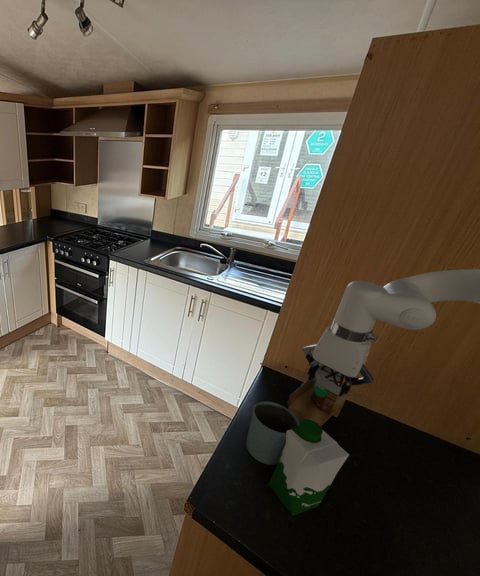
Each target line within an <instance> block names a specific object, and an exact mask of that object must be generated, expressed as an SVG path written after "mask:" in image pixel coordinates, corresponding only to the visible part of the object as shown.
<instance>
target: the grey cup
mask: <svg viewBox="0 0 480 576" xmlns="http://www.w3.org/2000/svg"><path fill="white" fill-rule="evenodd" d="M298 425H299V421H298V419H297V417H296V416H295V415H294V414H293V413H292V412H291V411H290V410H288V408H287V407H286V406H283V405H281V404H279V403H277V402H273V401H260V402H257V403H256V404H255V405H254V406H253V407H252V413H251V420H250V423H249V427H248V432H247V435H246V436H247V437H246V441H245V445H246V449H247V451H248V453H249V454H250V455H251V457H253V459H255V460H256V461H258V462H259V463H261V464H264V465H268V466H275V465H277V464H278V462H279V459H280V457H281V454H282V452H283V449H284V447H285V444H286V432H287V431H288V430H291V429H293V428H295V427H296V426H298Z"/></svg>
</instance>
